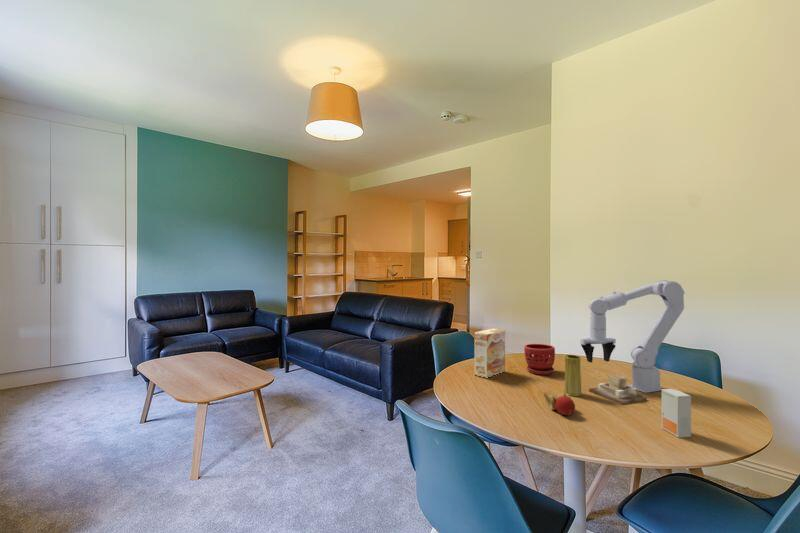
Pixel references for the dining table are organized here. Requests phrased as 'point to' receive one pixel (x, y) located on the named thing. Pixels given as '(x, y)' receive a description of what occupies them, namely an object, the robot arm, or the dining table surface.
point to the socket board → (618, 394)
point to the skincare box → (676, 412)
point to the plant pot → (540, 358)
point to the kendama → (560, 403)
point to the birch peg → (617, 382)
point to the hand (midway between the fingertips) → (598, 361)
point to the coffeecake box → (489, 352)
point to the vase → (572, 375)
